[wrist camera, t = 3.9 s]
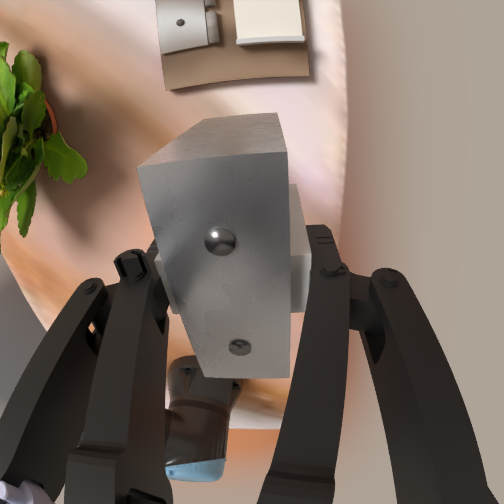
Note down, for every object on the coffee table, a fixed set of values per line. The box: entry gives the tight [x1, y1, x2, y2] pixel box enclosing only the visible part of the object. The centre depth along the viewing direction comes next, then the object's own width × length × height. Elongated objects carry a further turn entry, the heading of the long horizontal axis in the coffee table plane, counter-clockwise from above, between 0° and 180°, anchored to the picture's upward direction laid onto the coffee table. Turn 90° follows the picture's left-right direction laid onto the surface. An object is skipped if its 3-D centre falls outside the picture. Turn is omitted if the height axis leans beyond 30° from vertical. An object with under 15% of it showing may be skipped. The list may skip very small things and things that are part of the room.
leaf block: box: [137, 113, 291, 378], centre depth 13 cm, size 10×4×9 cm, turn 5°
